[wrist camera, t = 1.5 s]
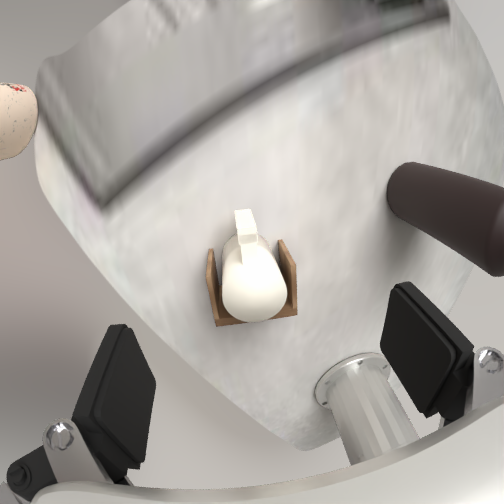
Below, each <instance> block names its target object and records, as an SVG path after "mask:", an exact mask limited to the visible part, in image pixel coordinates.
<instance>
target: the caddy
mask: <svg viewBox="0 0 504 504" xmlns="http://www.w3.org/2000/svg"><path fill="white" fill-rule="evenodd" d="M278 245H279V259H280V272H281V274H282V277H283V279H284V282H285V284H286V288H287V298H286V302H285V304H284V306H283V307H282V309H281V310H280V311H279V312H278V313H277V314H276V315H274V316H273V317H271V318H270V319H276V318H282V317H289V316H295V315H297V281H296V264H295V262H294V261H293V259H292V257H291V255H290V253H289V251H288V249H287V248H286V246H285V244H284V242H283V240H278ZM206 281H207V286H208V291H209V295H210V300H211V305H212V310H213V314H214V319H215V323H216V326H225V325H233V324H241V323H248V322H245V321H241V320H238V319H237V318H235V317H233V316H232V315H231V314H230V313H229V312H228V311H227V310H226V308H225V306H224V304H223V299H222V285H221V286H219V281H218V275H217V269H216V263H215V258H214V252H213V249H209V254H208V262H207V271H206ZM267 320H269V319H267Z"/></svg>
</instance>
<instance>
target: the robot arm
mask: <svg viewBox="0 0 504 504" xmlns="http://www.w3.org/2000/svg"><path fill="white" fill-rule="evenodd" d="M380 348H381V351H382V353H383V354H384V356H385V357H386V358H385V357H383V356H382V355H379V354H376V353H366V354H360V355H356V356H353V357H350V358H348V359H346V360H344V361H342V362H340V363H339V364H337V365H335V366H334V367H333V368H331V369H330V370H329V371H328V372H327V373H326V374H325V375H324V376H323V377H322V378H321V379H320V381H319V382H318V384H317V386H316V390H315V396H316V399H317V402H318V403H319V404H320V405H321V406H322V407H324V408H327V409H331V411H332V414H333V416H334V419H335V422H336V425H337V427H338V430H339V433H340V436H341V439H342V441H343V444H344V447H345V450H346V453H347V455H348V458H349V461H350V464H351V466H349V467H346V468H342V469H339V470H336V471H332V472H328V473H324V474H320V475H316V476H311V477H307V478H302V479H297V480H292V481H287V482H281V483H274V484H267V485H260V486H251V487H241V488H228V489H205V490H204V489H203V490H201V489H200V490H191V489H160V488H146V487H136V486H134V485H133V484H132V482H131V481H130V480H129V478H128V477H127V470H128V468H129V469H140V463H142V462H144V460H145V455H146V447H147V439H148V433H149V426H150V419H151V413H152V406H153V401H154V395H155V389H156V381H155V378H154V376H153V374H152V372H151V370H150V368H149V366H148V363H147V361H146V359H145V357H144V355H143V353H142V350H141V348H140V346H139V344H138V342H137V339H136V337H135V335H134V332H133V330H132V329H131V328H128V327H127V325H125V324H118V325H110V326H109V327H108V330H107V332H106V334H105V336H104V338H103V340H102V343H101V345H100V347H99V350H98V352H97V354H96V356H95V359H94V361H93V364H92V366H91V368H90V370H89V373H88V375H87V378H86V380H85V383H84V386H83V388H82V391H81V393H80V396H79V398H78V401H77V404H76V406H75V409H74V412H73V416H72V419H71V420H69V419H65V418H61V419H57V420H54V421H53V422H51V423H50V424H49V425H48V426H47V427H46V428H45V430H44V432H43V437H42V441H43V445H42V446H41V447H39V448H37V449H36V450H34V451H32V452H31V453H29V454H27V455H25V456H24V457H22V458H20V459H19V460H17V461H15V462H14V463H12V464H11V465H10V467H9V468H8V471H7V483H5V482H3V483H2V484H1V485H0V504H504V355H503V354H502V353H501V352H500V351H498V350H496V349H495V348H491V347H483V348H480V349H478V350H477V351H476V353H475V354H474V352H473V351H472V350H473V348H474V345H473V344H472V343H471V342H470V341H469V340H468V339H467V338H466V337H465V336H464V335H463V333H462V332H461V331H460V330H459V329H458V328H457V327H456V326H455V325H454V324H453V323H452V322H451V321H450V320H449V319H448V318H447V317H446V316H445V315H444V314H443V313H442V312H441V311H440V310H439V309H438V308H437V307H436V306H435V305H434V304H433V303H432V302H431V301H430V300H429V299H428V298H427V297H426V296H425V295H424V294H423V293H422V292H421V291H420V290H419V289H418V288H417V287H416V286H414V285H413V284H412V283H411V282H409V281H408V282H403V283H399V284H396V285H395V286H394V288H393V289H392V290H391V292H390V297H389V303H388V308H387V313H386V318H385V323H384V328H383V332H382V337H381V341H380ZM386 359H387V360H386ZM388 362H389V363H388ZM389 364H390V365H391V367H392V368H393V370H394V372H395V373H396V375H397V376H398V378H399V380H400V381H401V383H402V385H403V386H404V388H405V389H406V391H407V393H408V394H409V396H410V398H411V399H412V401H413V403H414V404H415V406H416V408H417V410H418V411H419V412H420V413H423V414H424V415H425V417H426V418H428V417H430V416H432V415H434V414H436V413H438V412H439V413H440V415H441V419H440V424H439V428H438V430H437V431H435V432H433V433H431V434H429V435H427V436H425V437H423V438H421V439H420V438H419V436H418V434H417V433H416V430H415V428H414V427H413V425H412V423H411V421H410V419H409V418H408V416H407V414H406V412H405V410H404V409H403V407H402V406H401V403H400V401H399V400H398V398H397V396H396V394H395V393H394V391H393V389H392V388H391V386H390V384H389V382H388V381H387V380H388V377H389V375H390V365H389Z"/></svg>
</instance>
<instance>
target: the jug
mask: <svg viewBox="0 0 504 504" xmlns="http://www.w3.org/2000/svg"><path fill="white" fill-rule="evenodd" d="M234 212H235V220H236V227H237V234H236V235H234V236H232V237H231V238H230V239H229V240H228V241H227V242H226V244H225V246H224V248H223V252H222V299H223V304H224V306H225V308H226V310H227V311H228V312H229V313H230V314H231V315H232V316H233V317H235V318H237V319H238V320H241V321H245V322H261V321H265V320H267V319H270V318H271V317H273V316H274V315H276V314H277V313H278V312H279V311H280V310H281V309H282V307H283V306H284V304H285V302H286V298H287V288H286V284H285V282H284V279H283V277H282V274H281V272H280V270H279V267H278V265H277V262H276V260H275V257H274V255H273V252H272V250H271V248H270V245H269V243H268V242H267V240H266V239H265V238H264V237H262V236H261V235H259V234H257V227H256V224H255V221H254V218H253V215H252V213H251V210H250V209H245V210H237V211H234Z"/></svg>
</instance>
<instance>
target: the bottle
mask: <svg viewBox="0 0 504 504" xmlns="http://www.w3.org/2000/svg"><path fill="white" fill-rule="evenodd" d="M387 194H388V202H389V205H390V208H391V209H392V211H393V212H394V213H395V215H396V216H398V217H399V218H401V219H402V220H404V221H406V222H408V223H410V224H411V225H413V226H415V227H417V228H418V229H420V230H422V231H423V232H425V233H427V234H429V235H430V236H432V237H433V238H435V239H437V240H438V241H440V242H442V243H443V244H445V245H446V246H448V247H450V248H451V249H453V250H454V251H456V252H457V253H459V254H461V255H462V256H464V257H465V258H467V259H468V260H470V261H471V262H473V263H474V264H476V265H477V266H479V267H480V268H481V269H483V270H484V271H486V272H487V273H488V274H490V275H491V276H495V277H497V276H498V277H501V276H504V188H503V187H500V186H497V185H495V184H492V183H489V182H486V181H482V180H479V179H476V178H473V177H470V176H466V175H463V174H459V173H456V172H452V171H448V170H445V169H441V168H437V167H433V166H429V165H425V164H420V163H416V162H409V163H404V164H403V165H401V166H399V167H398V168H397V169H396V170H395V171H394V173H393V174H392V176H391V178H390V181H389V184H388V190H387Z"/></svg>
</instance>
